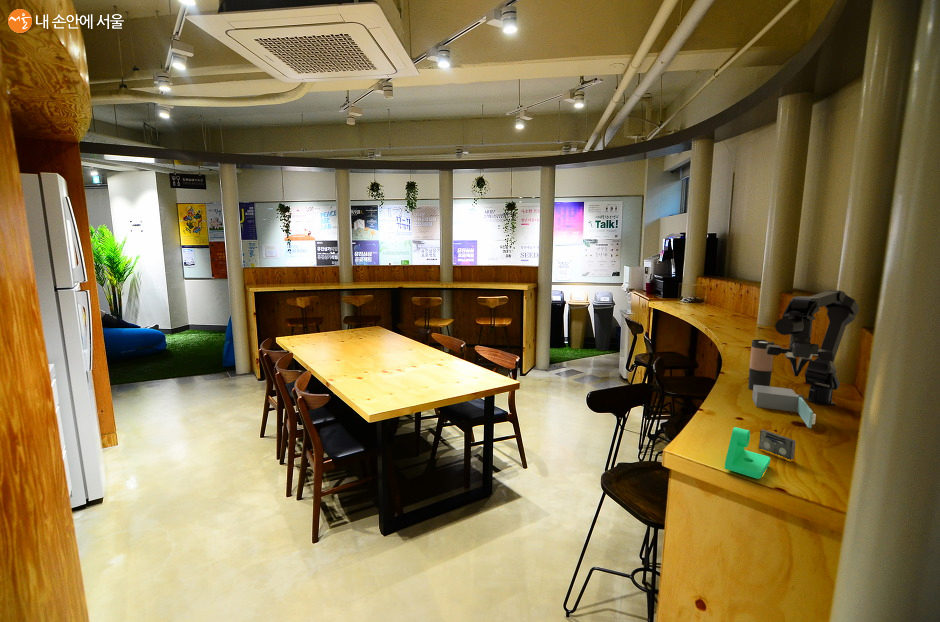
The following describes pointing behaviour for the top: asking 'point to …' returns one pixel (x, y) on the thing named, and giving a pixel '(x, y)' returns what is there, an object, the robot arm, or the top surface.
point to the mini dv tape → (777, 444)
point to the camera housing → (775, 398)
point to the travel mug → (760, 364)
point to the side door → (806, 413)
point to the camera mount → (744, 456)
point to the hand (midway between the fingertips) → (796, 376)
